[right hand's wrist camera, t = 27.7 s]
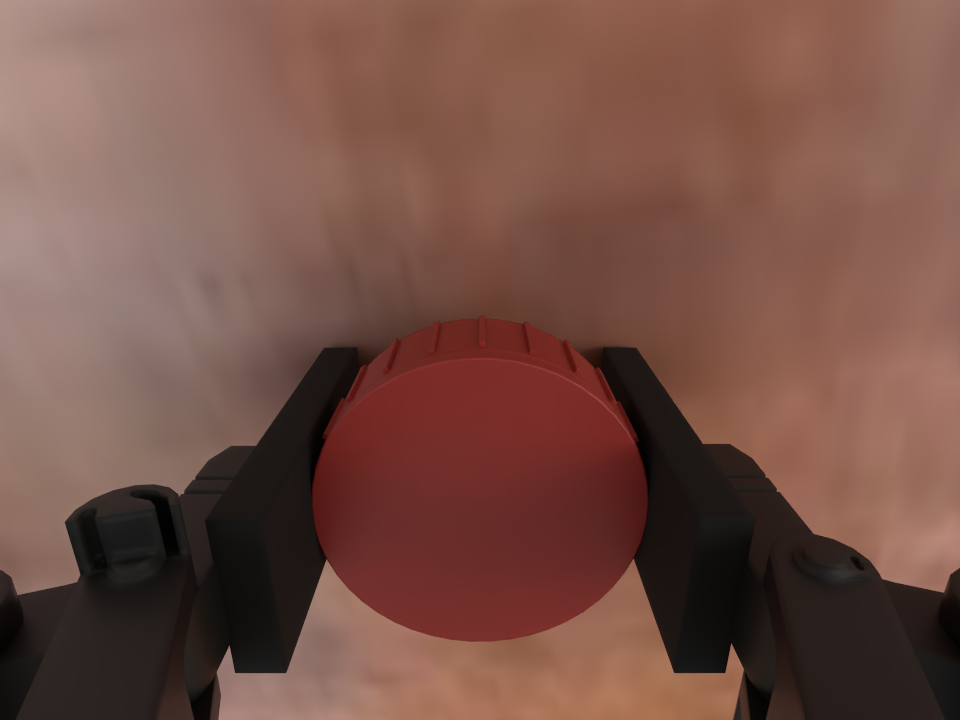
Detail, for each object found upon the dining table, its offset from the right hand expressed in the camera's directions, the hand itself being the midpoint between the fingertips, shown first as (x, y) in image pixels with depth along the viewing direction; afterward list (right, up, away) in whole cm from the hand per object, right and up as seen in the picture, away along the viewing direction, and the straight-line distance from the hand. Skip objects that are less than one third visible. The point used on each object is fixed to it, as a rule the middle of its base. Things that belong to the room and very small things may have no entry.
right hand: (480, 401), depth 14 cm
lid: (0, -1, -4) cm, 4 cm away
